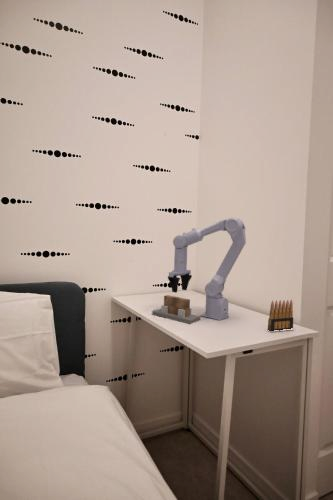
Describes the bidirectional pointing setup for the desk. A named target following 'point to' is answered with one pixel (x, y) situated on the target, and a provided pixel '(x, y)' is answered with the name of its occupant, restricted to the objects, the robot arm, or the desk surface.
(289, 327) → the ammunition clip
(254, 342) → the desk surface
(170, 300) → the door panel
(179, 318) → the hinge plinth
